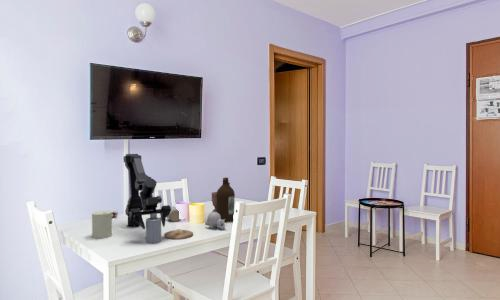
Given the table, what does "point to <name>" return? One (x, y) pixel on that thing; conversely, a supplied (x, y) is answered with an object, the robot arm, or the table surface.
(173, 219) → the ceramic mug
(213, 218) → the chubby cartoon animal
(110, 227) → the can
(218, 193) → the olive oil
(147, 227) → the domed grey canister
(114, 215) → the grandmother figurine
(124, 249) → the table surface
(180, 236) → the cheese board
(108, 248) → the table surface
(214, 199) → the mortar and pestle
